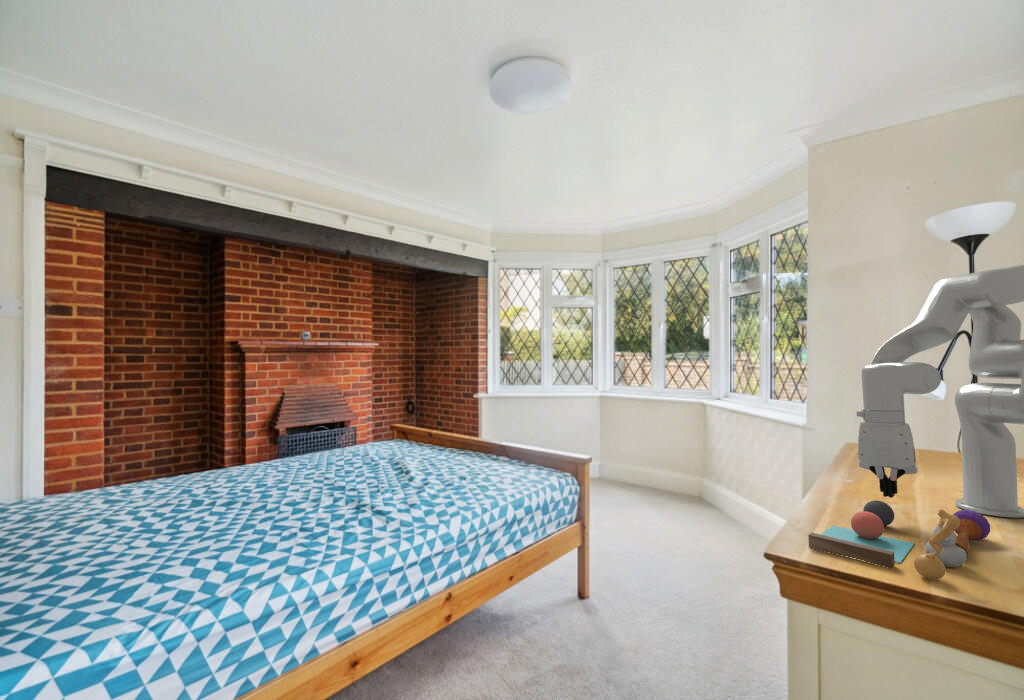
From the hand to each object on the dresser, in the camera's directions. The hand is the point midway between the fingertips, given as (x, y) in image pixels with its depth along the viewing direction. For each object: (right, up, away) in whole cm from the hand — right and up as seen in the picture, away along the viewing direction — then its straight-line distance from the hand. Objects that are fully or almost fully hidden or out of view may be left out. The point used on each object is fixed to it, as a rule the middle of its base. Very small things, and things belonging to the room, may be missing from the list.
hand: (889, 495), depth 109 cm
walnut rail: (-24, -5, -21) cm, 32 cm away
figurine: (-17, -5, -31) cm, 36 cm away
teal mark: (-17, -5, -14) cm, 23 cm away
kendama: (+2, -6, -16) cm, 17 cm away
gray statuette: (-9, -5, -24) cm, 27 cm away
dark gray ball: (-5, -3, -4) cm, 7 cm away
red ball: (-14, -3, -12) cm, 18 cm away
